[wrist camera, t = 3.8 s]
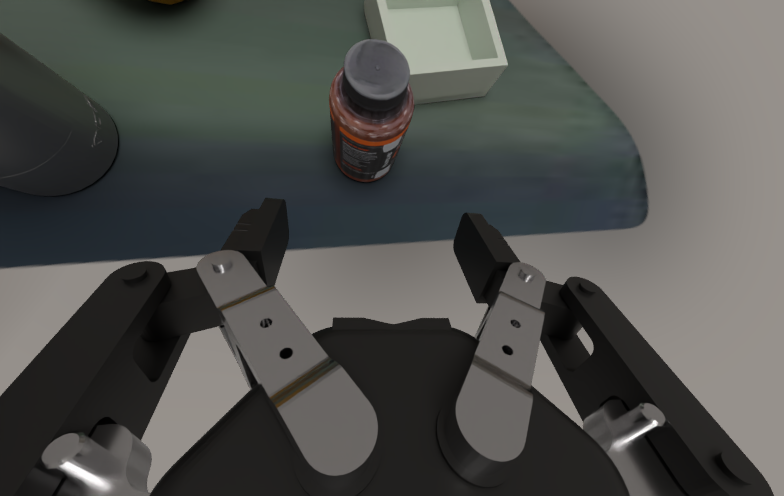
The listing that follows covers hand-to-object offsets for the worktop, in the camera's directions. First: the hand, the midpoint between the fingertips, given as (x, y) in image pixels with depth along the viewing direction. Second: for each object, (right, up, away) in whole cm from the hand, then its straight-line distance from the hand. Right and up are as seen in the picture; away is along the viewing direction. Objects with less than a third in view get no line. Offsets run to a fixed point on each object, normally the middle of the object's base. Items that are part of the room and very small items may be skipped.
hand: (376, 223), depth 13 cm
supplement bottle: (-2, +8, +15) cm, 17 cm away
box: (+4, +20, +17) cm, 26 cm away
